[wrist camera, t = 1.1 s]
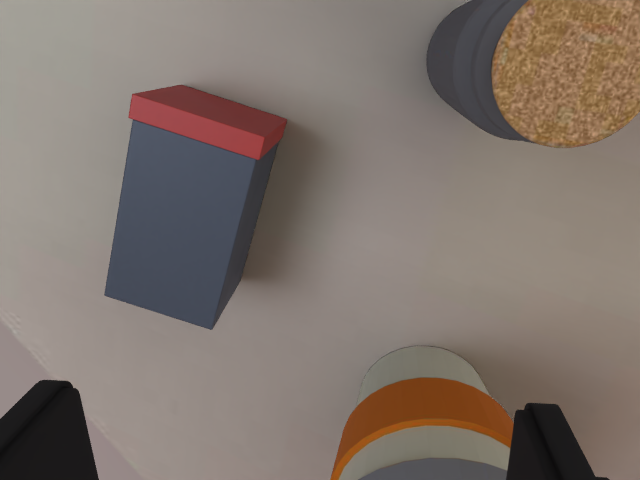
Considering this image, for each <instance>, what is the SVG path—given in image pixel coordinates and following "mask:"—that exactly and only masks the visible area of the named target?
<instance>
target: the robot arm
mask: <svg viewBox="0 0 640 480" xmlns="http://www.w3.org/2000/svg"><path fill="white" fill-rule="evenodd" d="M0 480H99V479H98V474H97V470H96V465H95V461H94V457H93V452H92V447H91V443H90V439H89V434H88V429H87V425H86V420H85V416H84V411H83V407H82V402H81V398H80V394H79V391H78V390H77V389H76V388H73V386H72V384H71V383H70V382H68V381H57V380H42V381H39V382H38V383H36V384H35V385H34V386H33V387H32V388H31V389H30V390H29V391H28V392H27V393H26V394H25V395H24V396H23V397H22V398H21V399H20V400H19V401H18V402H17V403H16V404H15V405H14V406H13V407H12V408H11V409H10V410H9V411H8V412H7V413H6V414H5V415H4V416H3V417H2V418H1V419H0ZM506 480H609V479H608V478H604V477H595V475H594V473H593V471H592V469H591V467H590V465H589V463H588V461H587V459H586V458H585V456H584V454H583V452H582V450H581V448H580V446H579V444H578V442H577V440H576V438H575V436H574V434H573V432H572V430H571V428H570V426H569V424H568V423H567V421H566V419H565V417H564V415H563V413H562V411H561V409H560V408H559V406H558V405H556V404H540V403H527V404H526V406H525V409H524V410H517V411H516V413H515V418H514V426H513V433H512V440H511V447H510V454H509V462H508V469H507V476H506Z"/></svg>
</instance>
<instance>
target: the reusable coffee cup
mask: <svg viewBox="0 0 640 480" xmlns="http://www.w3.org/2000/svg"><path fill="white" fill-rule="evenodd" d="M513 426H514V423H513V422H512V420H511V418H510V417H509V416H508V414H507V413H506V412H505V410H504V409H503V408H502V406H501V405H500V404H498V403H497V402H496V401H495V400H494V399H492V398H491V396H490V394H489V393H488V391H487V389H486V387H485V385H484V384H483V382H482V380H481V378H480V376H479V375H478V373H477V372H476V371H475V369H474V368H473V367H472V366H471V365H470V364H469V363H468V362H467V361H466V360H464V359H463V358H462V357H460V356H458V355H456V354H455V353H453V352H450V351H447V350H444V349H442V348H437V347H431V346H413V347H407V348H402V349H399V350H396V351H394V352H391V353H389V354H388V355H386V356H384V357H382V358H381V359H380V360H378V361H377V362H376V363H375V364H374V365H373V366H372V367H371V368H370V370H369V371H368V372H367V374H366V375H365V378H364V380H363V382H362V385H361V389H360V393H359V397H358V401H357V405H356V408H355V410H354V411H353V412H352V414H351V415H350V416H349V419H348V421H347V423H346V425H345V427H344V430H343V434H342V438H341V442H340V445H339V449H338V453H337V457H336V460H335V464H334V468H333V472H332V476H331V479H330V480H506V476H507V469H508V462H509V454H510V447H511V440H512V433H513Z"/></svg>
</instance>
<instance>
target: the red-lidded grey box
mask: <svg viewBox="0 0 640 480" xmlns="http://www.w3.org/2000/svg"><path fill="white" fill-rule="evenodd" d="M129 118H131V119H133V122H132V128H131V134H130V141H129V147H128V153H127V159H126V165H125V171H124V178H123V184H122V190H121V196H120V202H119V208H118V214H117V221H116V227H115V233H114V239H113V245H112V251H111V258H110V264H109V270H108V276H107V282H106V288H105V294H104V295H105V296H107V297H111V298H114V299H117V300H120V301H123V302H126V303H129V304H132V305H136V306H139V307H142V308H145V309H148V310H151V311H154V312H157V313H160V314H164V315H167V316H170V317H173V318H176V319H179V320H182V321H185V322H189V323H192V324H195V325H198V326H201V327H204V328H207V329H210V330H212V329H213V327H214V325H215V324H216V322H217V320H218V319H219V317H220V315H221V313H222V312H223V310H224V308H225V306H226V305H227V303H228V301H229V300H230V298H231V296H232V294H233V293H234V291H235V289H236V287H237V286H238V284H239V282H240V280H241V276H242V273H243V269H244V265H245V262H246V258H247V255H248V251H249V247H250V244H251V240H252V236H253V233H254V229H255V225H256V222H257V218H258V214H259V211H260V207H261V204H262V200H263V196H264V193H265V189H266V185H267V182H268V178H269V174H270V171H271V167H272V163H273V160H274V156H275V152H276V149H277V145H278V142H279V140H280V139H281V138H282V137H283V133H284V129H285V126H286V122H287V119H285V118H282V117H279V116H276V115H273V114H270V113H267V112H263V111H260V110H257V109H254V108H251V107H248V106H245V105H242V104H239V103H236V102H233V101H230V100H227V99H224V98H221V97H218V96H215V95H211V94H208V93H205V92H202V91H199V90H196V89H193V88H190V87H187V86H184V85H177V86H172V87H167V88H161V89H156V90H151V91H145V92H140V93H135V94H132V99H131V105H130V112H129Z"/></svg>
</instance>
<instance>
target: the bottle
mask: <svg viewBox="0 0 640 480" xmlns="http://www.w3.org/2000/svg"><path fill="white" fill-rule="evenodd" d="M427 71H428V75H429V79H430V82H431V84H432V86H433V87H434V89H435V91H436V92H437V93H438V95H439V96H440V97H441V98H442V99H443V100H444V101H445V102H446V103H448V104H449V105H450V106H451V107H453V108H454V109H455V110H456V111H458V112H459V113H460V114H461V115H463V116H464V117H465V118H467V119H468V120H470V121H471V122H472V123H474V124H475V125H476V126H478V127H479V128H481V129H483V130H484V131H486V132H488V133H490V134H492V135H494V136H497V137H500V138H504V139H509V140H518V141H525V142H531V143H537V144H540V145H544V146H549V147H555V148H572V147H578V146H584V145H588V144H591V143H594V142H597V141H600V140H602V139H604V138H606V137H608V136H610V135H612V134H614V133H615V132H617V131H618V130H620V129H621V128H622V127H624V126H625V125H626V124H628V123H629V122H630V121H631V120H632V119H633V118H634V117H635V116H636V115H637V114H638V113H639V112H640V0H471V1H470V2H468V3H466V4H464V5H462V6H460V7H459V8H457V9H455V10H454V11H452V12H451V13H450V14H449V15H448V16H447V17H446V18H445V19H444V20H443V21H442V22H441V23H440V24H439V26H438V27H437V29H436V30H435V32H434V34H433V36H432V38H431V41H430V44H429V47H428V51H427Z"/></svg>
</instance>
